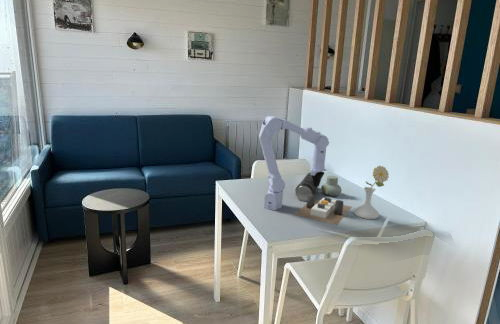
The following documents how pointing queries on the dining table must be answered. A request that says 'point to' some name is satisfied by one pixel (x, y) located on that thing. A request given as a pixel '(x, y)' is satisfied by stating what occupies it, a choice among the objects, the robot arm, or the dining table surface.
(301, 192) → the muzzle brake
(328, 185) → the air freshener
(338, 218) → the breaker panel
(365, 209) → the flower in vase
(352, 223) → the dining table surface
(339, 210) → the post
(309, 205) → the post
